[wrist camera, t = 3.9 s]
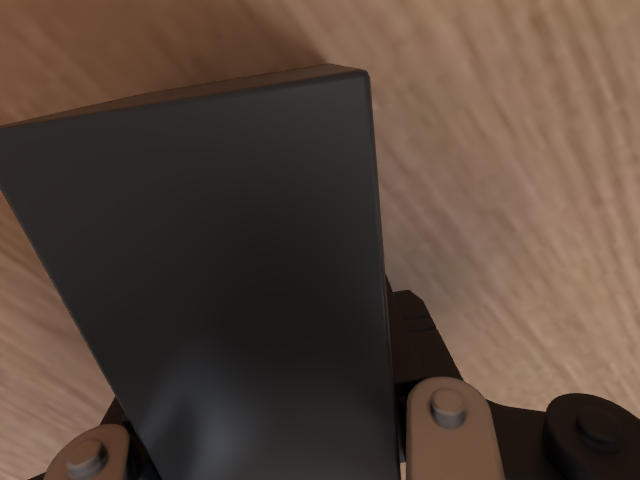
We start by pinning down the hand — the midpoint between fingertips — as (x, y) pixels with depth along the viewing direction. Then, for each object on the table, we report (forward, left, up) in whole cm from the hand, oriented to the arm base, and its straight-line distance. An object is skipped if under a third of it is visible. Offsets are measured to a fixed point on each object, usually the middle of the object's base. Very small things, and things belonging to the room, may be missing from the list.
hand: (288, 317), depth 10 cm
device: (0, 0, 0) cm, 0 cm away
